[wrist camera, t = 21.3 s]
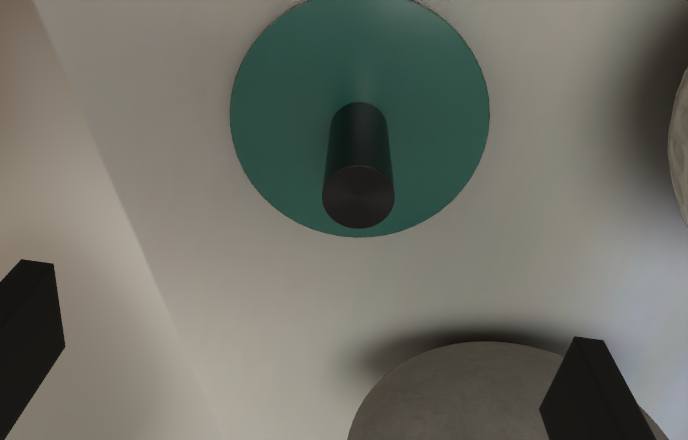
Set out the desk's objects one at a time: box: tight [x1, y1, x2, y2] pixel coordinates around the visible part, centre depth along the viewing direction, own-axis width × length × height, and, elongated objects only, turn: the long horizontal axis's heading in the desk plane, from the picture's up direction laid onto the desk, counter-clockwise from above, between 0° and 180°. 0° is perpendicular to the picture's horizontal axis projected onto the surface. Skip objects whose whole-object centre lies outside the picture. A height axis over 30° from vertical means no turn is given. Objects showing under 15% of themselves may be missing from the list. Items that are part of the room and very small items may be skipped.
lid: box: [230, 0, 490, 237], centre depth 26 cm, size 14×14×9 cm
